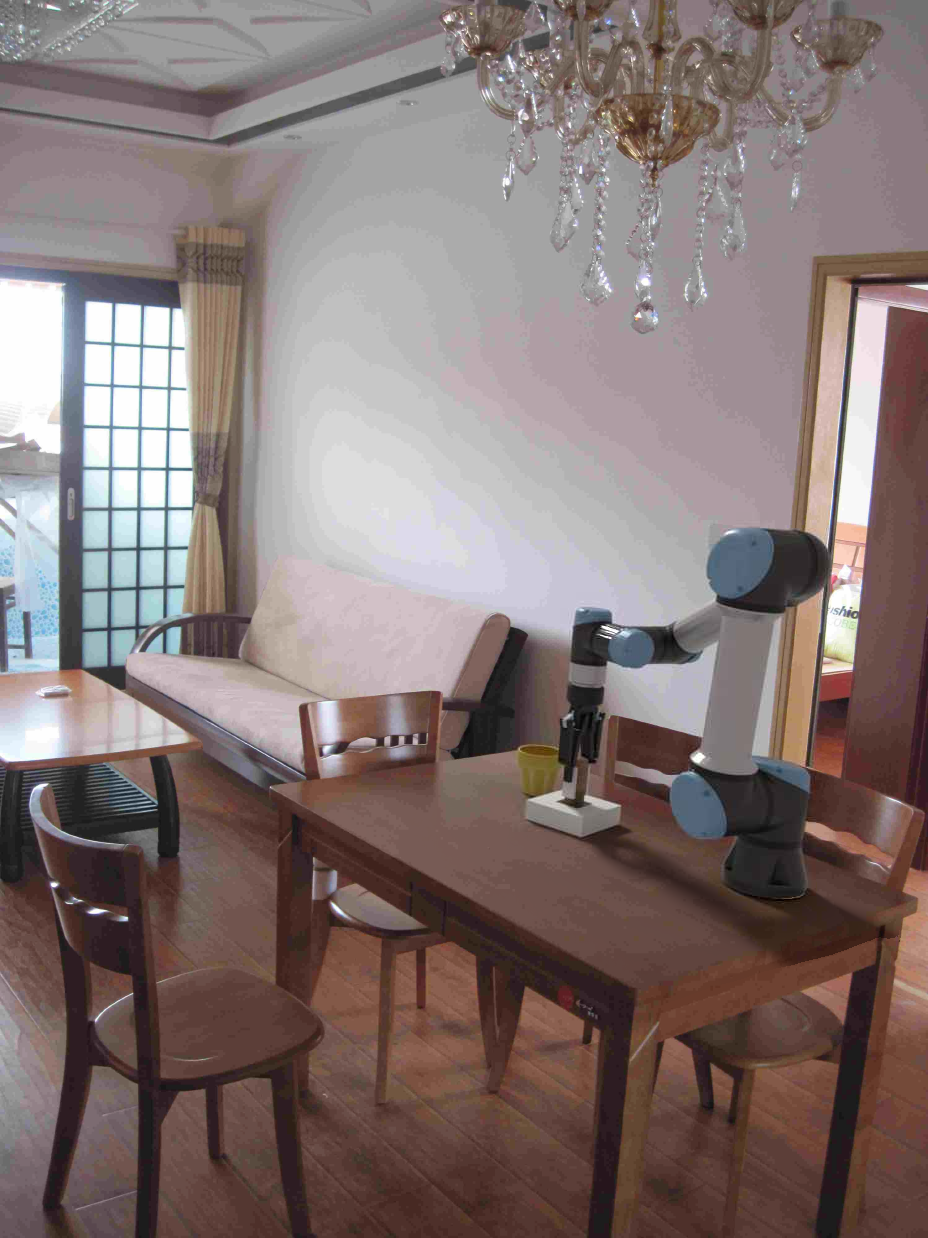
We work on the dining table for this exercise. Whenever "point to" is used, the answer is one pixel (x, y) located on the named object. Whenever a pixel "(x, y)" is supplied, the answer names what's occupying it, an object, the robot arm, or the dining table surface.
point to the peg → (579, 784)
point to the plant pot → (538, 768)
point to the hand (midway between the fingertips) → (574, 795)
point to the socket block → (572, 814)
